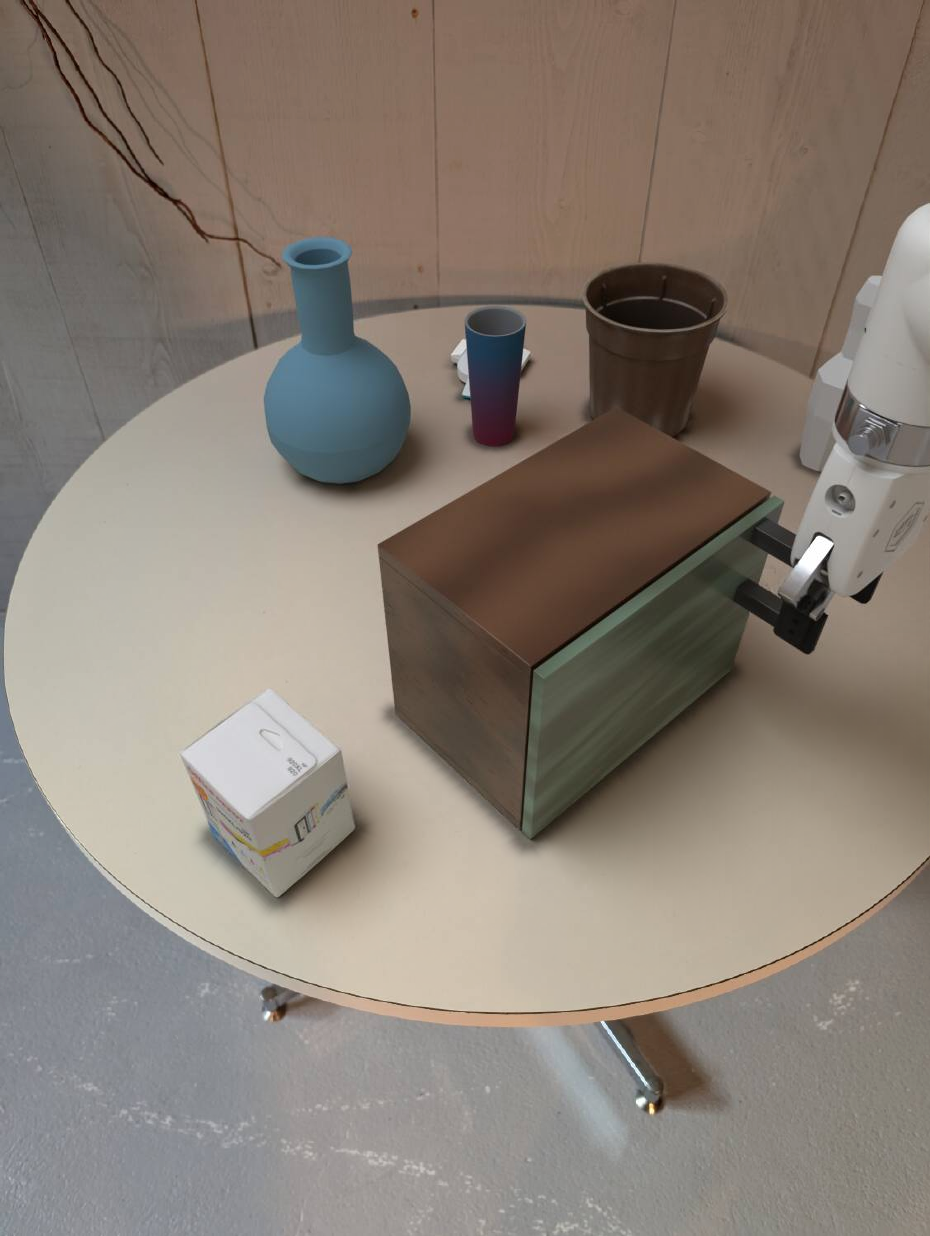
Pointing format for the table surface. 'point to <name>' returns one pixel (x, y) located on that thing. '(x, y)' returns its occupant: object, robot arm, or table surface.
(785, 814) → the table surface
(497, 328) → the cup
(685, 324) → the plant pot
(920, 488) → the robot arm
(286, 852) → the ink box
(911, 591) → the table surface
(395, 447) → the vase
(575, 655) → the cupboard door
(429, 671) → the cupboard
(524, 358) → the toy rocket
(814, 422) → the low poly bottle
